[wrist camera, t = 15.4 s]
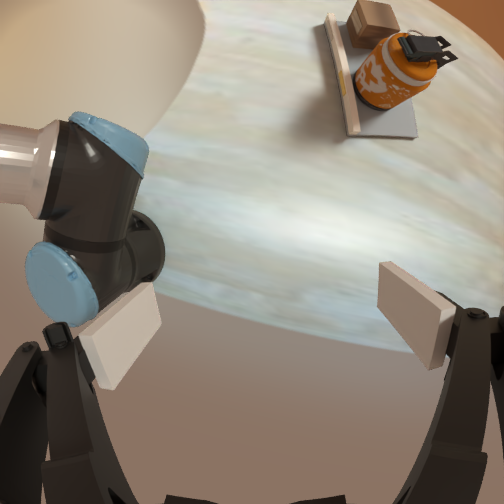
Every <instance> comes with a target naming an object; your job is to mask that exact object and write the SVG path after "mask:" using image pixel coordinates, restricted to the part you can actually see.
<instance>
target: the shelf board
mask: <svg viewBox="0 0 504 504" xmlns="http://www.w3.org/2000/svg"><path fill="white" fill-rule="evenodd" d="M324 26H325V29H326V33H327V37H328V40H329V44H330V48H331V53H332V57H333V61H334V66H335V70H336V75H337V80H338V85H339V90H340V95H341V101H342V107H343V113H344V119H345V126H346V133H347V136H387V137H406V138H418V131H417V125H416V119H415V113H414V108H413V103H412V98H409V99H407V100H406V101H404V102H402V103H400V104H399V105H397V106H395V107H394V108H392V109H390V110H387V111H377V110H374V109H371V108H369V107H368V106H366V105H365V104H364V103H362V102H361V101H360V99H359V98H358V97H357V95H356V93H355V92H354V89H353V84H352V80H353V76H354V74H355V72H356V71H357V70H358V68H359V67H360V66H361V65H362V63H363V62H364V61H365V60H366V58H367V57H368V56H369V55H370V53H371V52H372V51H373V50H371V49H362V48H353V46H352V43H351V39H350V36H349V33H348V29H347V26H346V22H340V21H336V18H335V15H334V13H327V16H326V19H325V22H324Z"/></svg>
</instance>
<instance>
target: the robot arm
mask: <svg viewBox="0 0 504 504" xmlns="http://www.w3.org/2000/svg"><path fill="white" fill-rule="evenodd" d="M68 120H69V122H65V121H61V120H54V121H53V122H51V123H50V124H48V125H47V126H46V127H44V128H42V129H39V130H37V129H32V128H26V127H20V126H14V125H7V124H0V203H11V204H22V205H24V206H25V207H26V208H27V209H28V210H29V212H30V213H31V215H32V216H33V218H34V219H40V220H46V222H45V229H44V237H43V242H39V243H37V244H35V245H34V247H33V248H32V250H30V251H29V253H28V255H27V257H26V262H25V273H26V279H27V283H28V286H29V289H30V291H31V294H32V296H33V298H34V299H35V301H36V302H37V304H38V306H39V307H40V308H41V310H42V311H43V312H44V313H45V314H46V315H47V316H48V317H49V318H50V319H52V320H53V321H54V322H56V323H53V324H50V325H48V326H46V327H45V328H44V329H43V331H42V332H43V334H44V337H45V340H46V343H47V345H48V347H49V351H41V349H40V347H39V344H38V343H37V342H35V341H33V342H26V343H23V344H22V345H21V346H20V347H19V348H18V349H17V350H16V352H15V354H14V355H13V357H12V358H11V360H10V361H9V363H8V364H7V366H6V368H5V369H4V371H3V373H2V374H1V376H0V504H41V493H42V482H43V487H44V493H45V498H46V504H139V503H138V502H137V500H136V498H135V497H134V495H133V493H132V491H131V488H130V487H129V484H128V482H127V480H126V478H125V476H124V473H123V471H122V469H121V466H120V464H119V462H118V459H117V457H116V454H115V452H114V449H113V446H112V444H111V441H110V438H109V435H108V433H107V430H106V426H105V423H104V420H103V417H102V414H101V410H100V407H99V403H98V400H97V396H96V393H95V389H94V387H93V385H92V381H93V380H94V379H95V377H96V380H97V382H98V384H99V386H100V388H103V389H110V390H114V389H115V388H116V386H117V385H118V383H119V382H120V381H121V379H122V378H123V377H124V375H125V374H126V372H127V371H128V370H129V368H130V367H131V365H132V364H133V362H134V361H135V360H136V358H137V357H138V356H139V354H140V353H141V351H142V350H143V349H144V348H145V346H146V345H147V343H148V342H149V341H150V339H151V338H152V337H153V335H154V334H155V333H156V331H157V330H158V328H159V327H160V326H161V325H162V322H161V318H160V314H159V310H158V306H157V301H156V297H155V292H154V288H153V283H152V282H153V281H154V280H155V279H156V278H157V277H158V276H159V274H160V272H161V270H162V268H163V265H164V261H165V246H164V242H163V238H162V236H161V233H160V231H159V229H158V228H157V226H156V225H155V224H154V223H153V221H152V220H151V219H150V218H148V217H147V216H146V215H144V214H142V213H140V212H138V211H134V210H133V207H134V204H135V200H136V196H137V193H138V190H139V186H140V183H141V180H142V179H143V178H144V174H143V172H144V168H145V165H146V161H147V158H148V154H149V147H148V145H147V143H146V141H145V140H144V139H143V138H141V137H140V136H138V135H137V134H135V133H133V132H131V131H129V130H127V129H125V128H123V127H121V126H119V125H117V124H114V123H112V122H109V121H107V120H105V119H102V118H97V117H95V116H92V115H90V114H87V113H84V112H74V113H73V114H72V116H70V117H69V119H68ZM124 292H129V293H128V294H127V295H126V296H124V297H123V298H122V299H120V300H119V301H118V302H117V303H116V304H114V305H113V306H112V307H111V308H109V309H108V310H107V311H106V312H105V313H103V314H102V315H101V316H100V317H99V318H98V319H96V320H95V321H94V322H93V323H92V324H90V325H89V326H88V327H87V328H86V329H85V330H83V331H82V332H81V333H80V334H79V335H78V336H77V337H76V338H75V339H73V337H72V335H71V332H70V329H69V327H78V326H80V325H82V324H84V323H85V322H87V321H88V320H91V319H93V318H95V317H96V315H97V314H98V313H99V312H100V311H101V310H103V309H104V308H105V307H106V306H107V305H109V304H110V303H111V302H112V301H114V300H115V299H116V298H117V297H119V296H120V295H121V294H122V293H124ZM377 307H378V308H379V310H380V311H381V312H382V313H383V314H384V316H385V317H386V318H387V319H388V320H389V322H390V323H391V324H392V325H393V326H394V328H395V329H396V330H397V331H398V333H399V334H400V335H401V336H402V338H403V339H404V340H405V341H406V343H407V344H408V345H409V346H410V348H411V349H412V350H413V351H414V353H415V354H416V355H417V356H418V358H419V359H420V360H421V362H422V363H423V364H424V366H425V367H426V368H427V369H428V370H432V369H435V368H438V367H441V366H442V365H443V362H444V359H445V355H446V354H447V355H448V356H449V358H450V362H449V366H448V369H447V372H446V375H445V378H444V380H445V381H444V385H443V389H442V393H441V395H440V399H439V402H438V405H437V408H436V411H435V414H434V417H433V420H432V423H431V426H430V428H429V431H428V433H427V436H426V438H425V441H424V443H423V446H422V448H421V451H420V453H419V455H418V457H417V459H416V462H415V464H414V466H413V468H412V470H411V472H410V474H409V476H408V478H407V480H406V482H405V484H404V486H403V487H402V489H401V491H400V493H399V494H398V496H397V498H396V499H395V501H394V502H393V504H475V503H476V500H477V497H478V494H479V490H480V487H481V484H482V480H483V476H484V472H485V468H486V464H487V457H488V456H487V453H485V452H481V450H482V444H483V438H484V433H485V428H486V421H487V414H488V404H489V394H490V381H491V385H492V389H493V392H494V397H495V402H496V407H497V412H498V418H499V424H500V430H501V438H502V446H503V458H504V306H503V307H502V308H501V310H500V315H499V317H493V318H489V315H488V313H487V312H485V311H484V310H481V309H478V308H467V309H463V308H462V307H461V306H459V305H458V304H456V303H455V302H454V301H452V300H451V299H450V298H448V297H447V296H445V295H444V294H442V293H440V292H437V291H435V290H432V289H431V288H430V287H428V286H427V285H425V284H424V283H422V282H421V281H419V280H418V279H417V278H415V277H414V276H412V275H411V274H409V273H408V272H406V271H405V270H403V269H402V268H400V267H399V266H397V265H396V264H394V263H393V262H391V261H389V262H380V263H379V284H378V303H377ZM48 441H49V450H50V459H51V460H49V461H45V458H46V451H47V446H48ZM164 504H217V503H214V502H210V501H207V500H198V499H191V498H184V497H177V496H172V495H166V499H165V502H164ZM291 504H346V499H345V495H340V496H334V497H328V498H321V499H313V500H304V501H298V502H295V503H291Z"/></svg>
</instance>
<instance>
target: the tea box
mask: <svg viewBox="0 0 504 504" xmlns="http://www.w3.org/2000/svg"><path fill="white" fill-rule="evenodd" d="M346 26H347V29H348V33H349V36H350V39H351V43H352V46H353V48H362V49H371V50H374V48H375V47H376V46H377V45H378V43H379V42H380V41H381V40H383V39H384V38H388V37H390V36H391V35H393V34H396V33H398V32H399V31H400V28H399V25H398V22H397V20H396V17H395V15H394V13H393V10H392V8H391V6H390V5H388V4H384V3H379V2H373V1H367V0H357V2H356V4H355V6H354V8H353V10H352V12H351V14H350V16H349V18H348V20H347V22H346Z"/></svg>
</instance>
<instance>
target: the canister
mask: <svg viewBox="0 0 504 504" xmlns="http://www.w3.org/2000/svg"><path fill="white" fill-rule="evenodd" d="M410 31H413V32H417V33H419V34H421V35H422V36H415V35H411V34H410V33H409V32H410ZM437 41H439V42H440V43H441V44H442V45H443V46H440V45H439V44H438V42H437ZM450 45H451V44H450V43H449V42H448V41H446V40H445V39H444V38H443V37H442V36H437V37H428V36H424V35H423V34H422V33H420V32H418V31H416V30H408V33H396V34H393V35H391V36H390V37H388V38H384V39H383V40H381V41H380V42H379V43H378V45H377V46H376V47H375V48H374V50H373V51H372V52H371V53H370V55H369V56H368V57H367V58H366V60H365V61H364V62H363V63H362V65H361V66H360V67H359V68H358V70H357V71H356V72H355V74H354V76H353V80H352V84H353V89H354V92H355V93H356V95H357V97H358V98H359V99H360V101H361V102H362V103H364V104H365V105H366V106H368V107H369V108H371V109H374V110H377V111H387V110H390V109H392V108H394V107H395V106H397V105H399V104H400V103H402V102H404V101H406V100H407V99H409V98H411V97H412V96H414V95H416V94H418V93H419V92H421V91H423V90H425V89H426V88H427V87H428V86H429V85H430V83H431V81H432V80H433V79H434V78H435V76H436V73H437V69H439V68H440V67H442V66H443V65H445V64H447V63H449V62H451V61H454V60H456V59H458V58H457V57H456V56H455V55H454V54H452V53H451V52H450V51H444V52H443V51H442V49H444V48H446V47H448V46H450ZM445 55H446V56H447V57H448V58H450V59H449V60H446V59H444V58H442V57H444V56H445Z"/></svg>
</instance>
